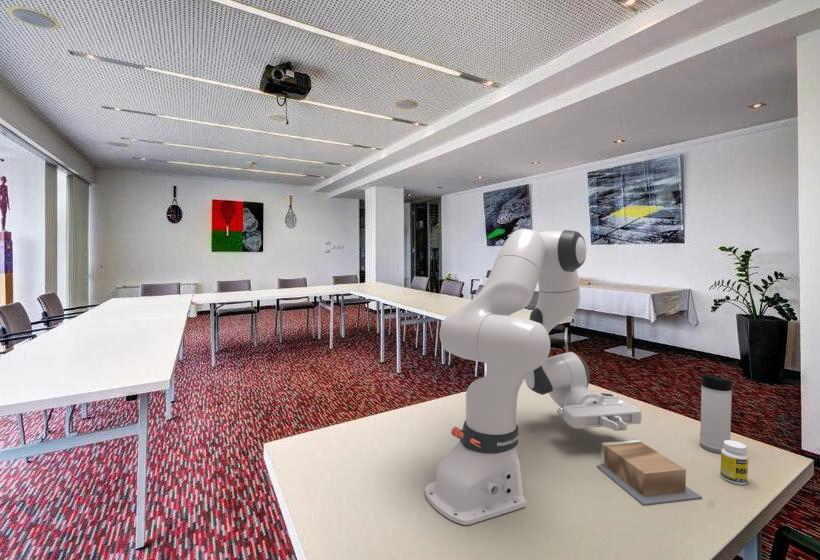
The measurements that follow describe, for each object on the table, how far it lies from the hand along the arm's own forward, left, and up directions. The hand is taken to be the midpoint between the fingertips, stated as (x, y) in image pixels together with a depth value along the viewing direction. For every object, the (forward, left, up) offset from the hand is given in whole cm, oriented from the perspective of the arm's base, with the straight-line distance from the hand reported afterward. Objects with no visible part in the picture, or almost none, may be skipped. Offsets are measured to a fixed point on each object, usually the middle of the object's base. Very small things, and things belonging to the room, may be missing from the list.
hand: (621, 427), depth 94 cm
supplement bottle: (+14, -18, -9) cm, 25 cm away
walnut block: (0, +1, -6) cm, 6 cm away
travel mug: (+28, -10, -9) cm, 31 cm away
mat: (-3, -7, -9) cm, 12 cm away
